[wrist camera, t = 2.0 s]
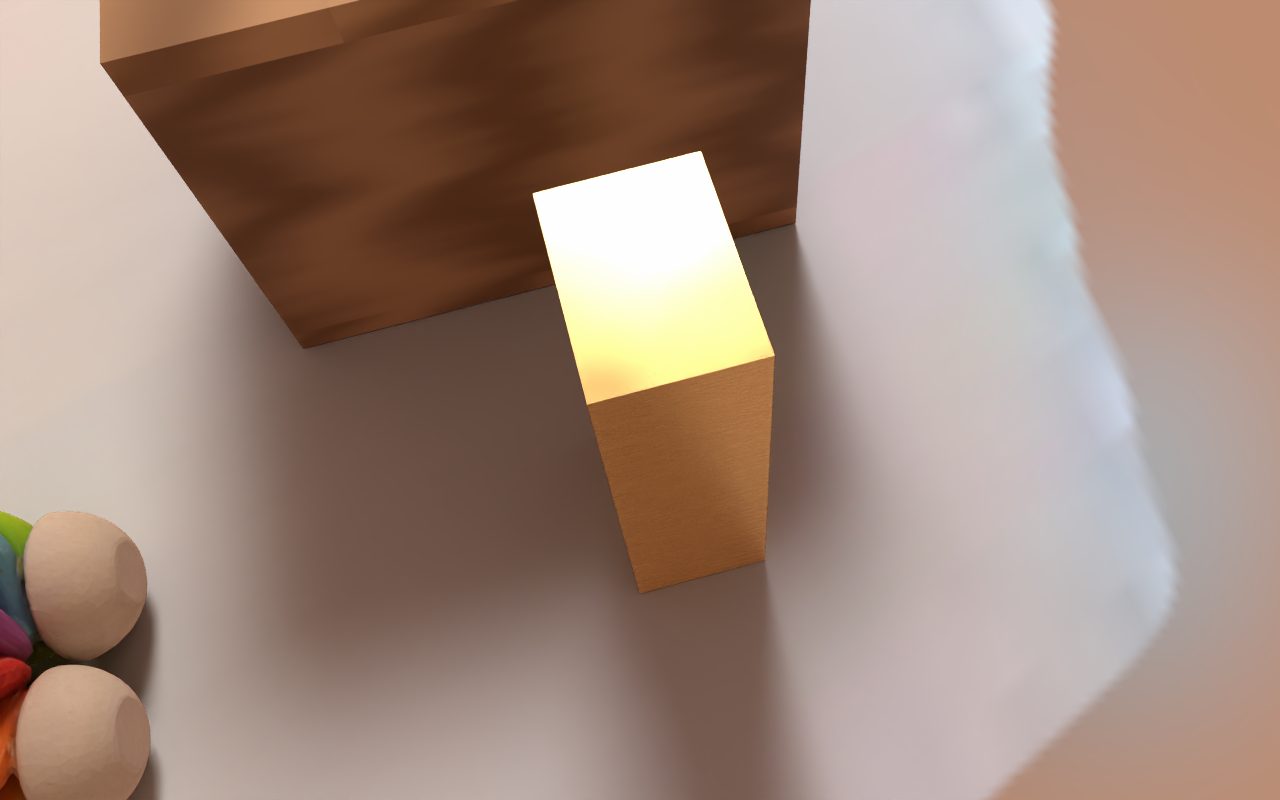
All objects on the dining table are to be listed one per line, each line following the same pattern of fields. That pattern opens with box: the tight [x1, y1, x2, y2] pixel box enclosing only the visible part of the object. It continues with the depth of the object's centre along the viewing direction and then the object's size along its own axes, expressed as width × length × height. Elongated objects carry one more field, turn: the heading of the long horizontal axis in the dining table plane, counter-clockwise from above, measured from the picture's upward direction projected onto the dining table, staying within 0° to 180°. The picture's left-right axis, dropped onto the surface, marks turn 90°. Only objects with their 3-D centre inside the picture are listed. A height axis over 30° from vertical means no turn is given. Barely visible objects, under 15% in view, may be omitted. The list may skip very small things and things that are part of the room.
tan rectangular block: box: [533, 151, 775, 594], centre depth 25 cm, size 4×5×11 cm
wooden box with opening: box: [100, 0, 811, 348], centre depth 31 cm, size 16×12×12 cm
